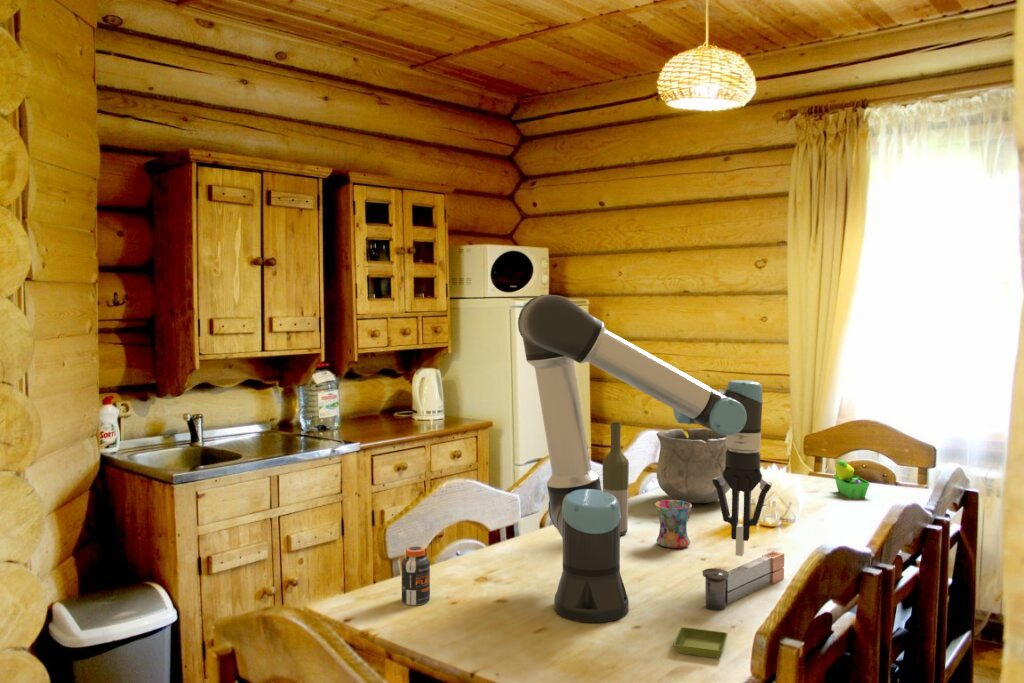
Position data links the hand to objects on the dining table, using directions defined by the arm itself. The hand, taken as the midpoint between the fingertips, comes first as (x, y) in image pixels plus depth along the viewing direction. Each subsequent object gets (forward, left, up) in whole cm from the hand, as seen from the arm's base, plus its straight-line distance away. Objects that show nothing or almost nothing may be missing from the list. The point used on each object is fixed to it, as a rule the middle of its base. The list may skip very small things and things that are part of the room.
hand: (739, 553), depth 188 cm
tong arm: (-3, -6, -3) cm, 7 cm away
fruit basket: (+90, +37, -6) cm, 98 cm away
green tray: (-34, -22, -6) cm, 41 cm away
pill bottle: (-67, +28, -6) cm, 73 cm away
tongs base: (-5, -7, -6) cm, 10 cm away
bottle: (0, +44, -6) cm, 44 cm away
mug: (+7, +28, -6) cm, 30 cm away
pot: (+43, +58, -6) cm, 73 cm away
